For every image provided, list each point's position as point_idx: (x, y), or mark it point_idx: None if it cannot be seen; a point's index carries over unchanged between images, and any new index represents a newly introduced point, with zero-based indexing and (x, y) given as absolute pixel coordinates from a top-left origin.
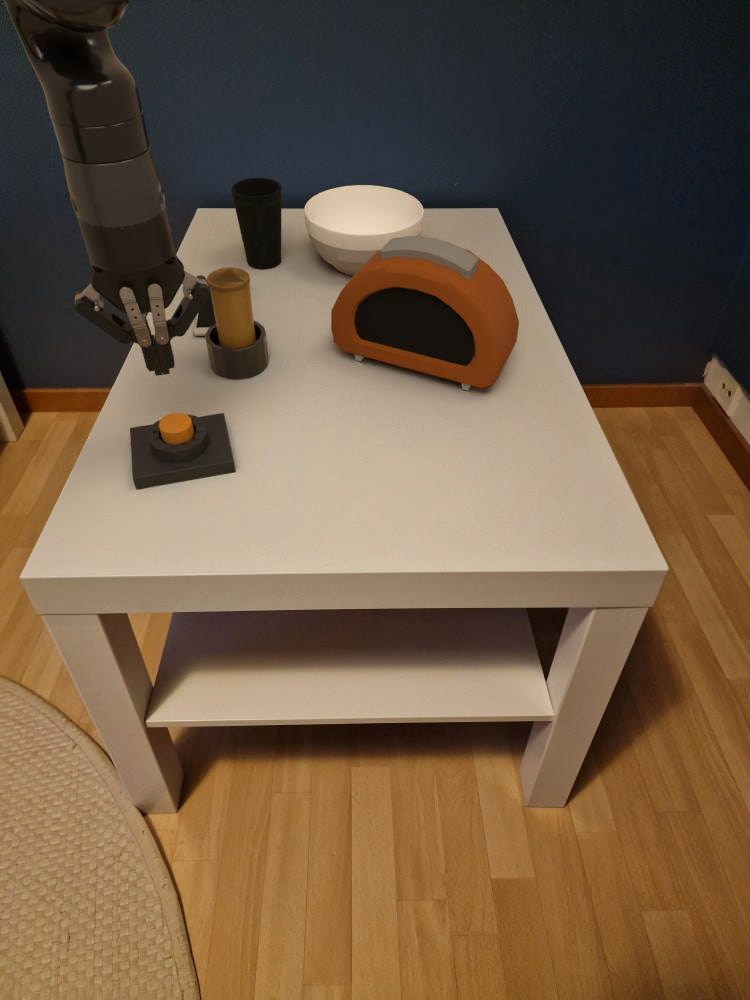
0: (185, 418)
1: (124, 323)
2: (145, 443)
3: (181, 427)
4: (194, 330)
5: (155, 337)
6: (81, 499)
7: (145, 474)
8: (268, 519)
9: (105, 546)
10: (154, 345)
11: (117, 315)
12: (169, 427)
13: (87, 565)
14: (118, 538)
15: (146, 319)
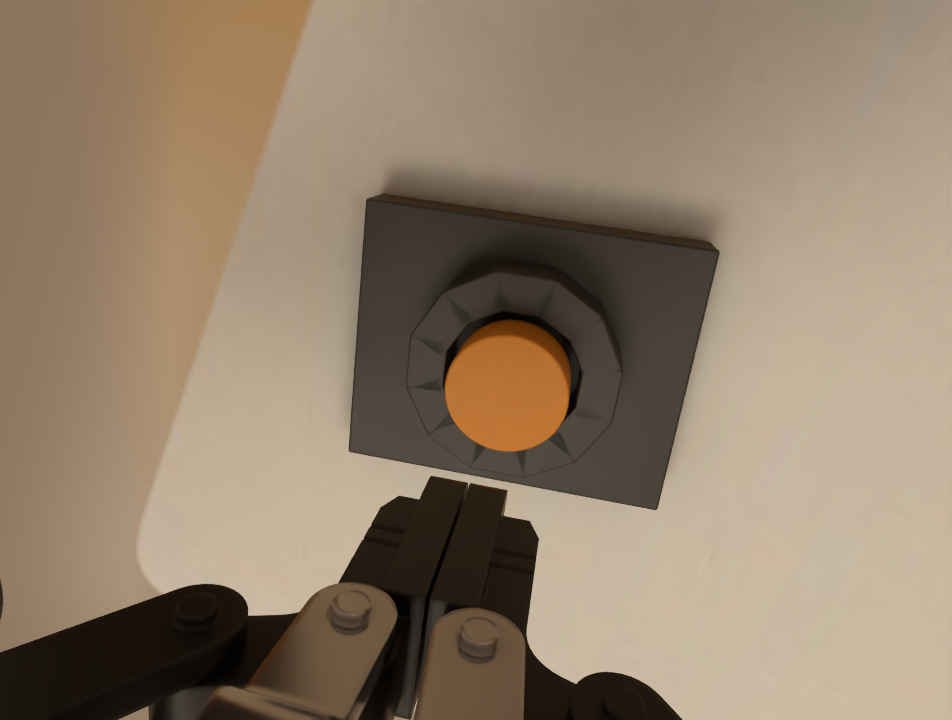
0: (548, 388)
1: (183, 694)
2: (406, 309)
3: (521, 431)
4: None
5: (429, 637)
6: (219, 404)
7: (385, 451)
8: (669, 677)
9: (274, 579)
10: (407, 713)
11: (102, 713)
12: (479, 415)
13: None
14: (304, 570)
15: (358, 707)
